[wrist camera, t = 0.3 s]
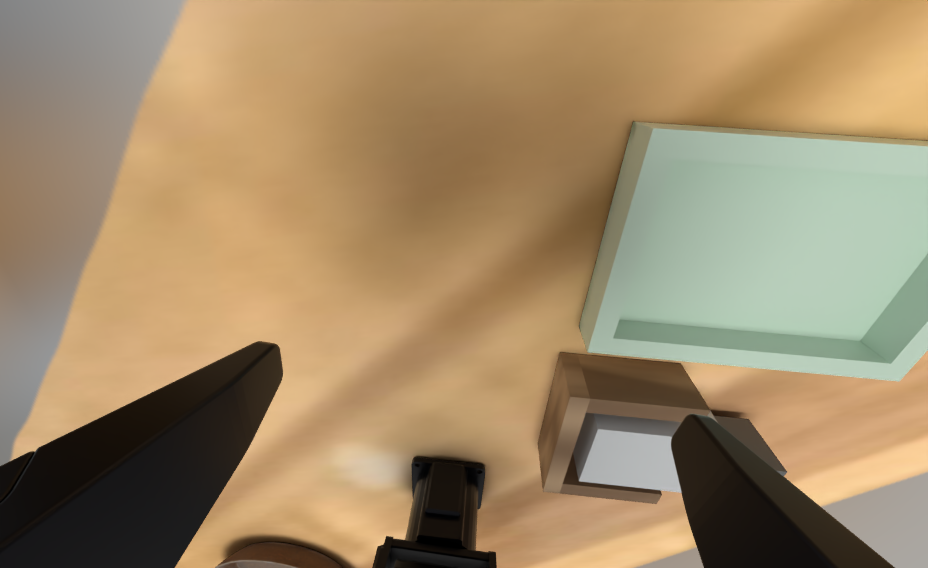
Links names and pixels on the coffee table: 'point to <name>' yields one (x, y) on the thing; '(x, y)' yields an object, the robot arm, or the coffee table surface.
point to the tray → (765, 252)
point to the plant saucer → (277, 557)
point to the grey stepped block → (646, 450)
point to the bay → (608, 413)
